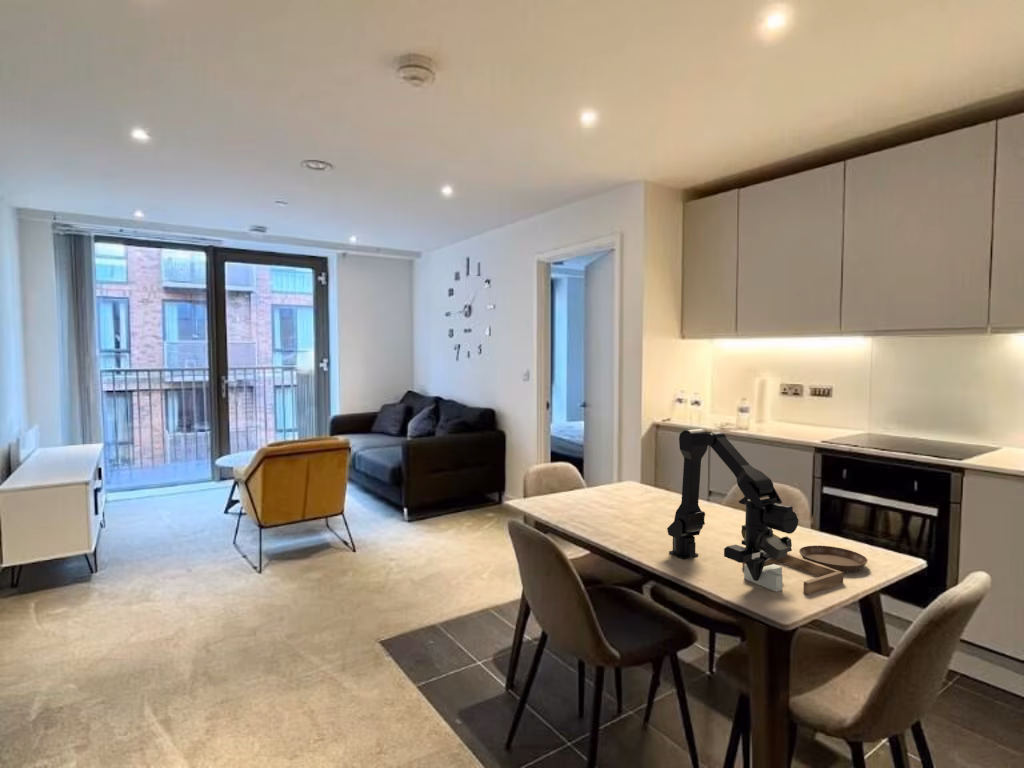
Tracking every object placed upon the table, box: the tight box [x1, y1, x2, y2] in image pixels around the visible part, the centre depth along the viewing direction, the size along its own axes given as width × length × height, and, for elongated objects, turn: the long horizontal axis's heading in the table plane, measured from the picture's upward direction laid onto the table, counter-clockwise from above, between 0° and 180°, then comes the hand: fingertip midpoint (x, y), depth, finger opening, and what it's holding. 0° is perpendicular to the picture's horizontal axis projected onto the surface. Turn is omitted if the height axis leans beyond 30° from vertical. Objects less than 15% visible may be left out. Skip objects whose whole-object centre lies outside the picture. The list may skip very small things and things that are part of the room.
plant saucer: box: [798, 545, 869, 573], centre depth 169 cm, size 18×18×3 cm
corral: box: [742, 552, 844, 595], centre depth 160 cm, size 20×15×3 cm
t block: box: [743, 563, 783, 592], centre depth 156 cm, size 10×8×4 cm
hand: (755, 580), depth 153 cm, fingers closed
